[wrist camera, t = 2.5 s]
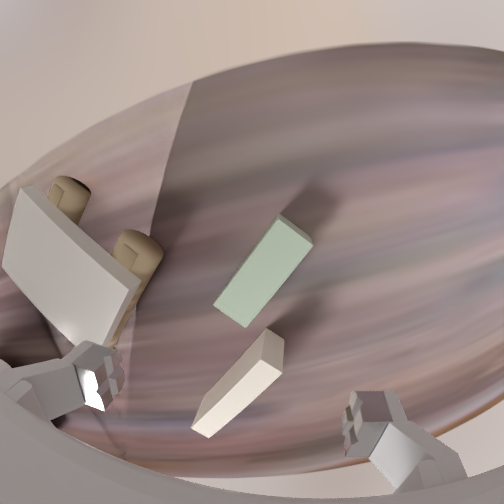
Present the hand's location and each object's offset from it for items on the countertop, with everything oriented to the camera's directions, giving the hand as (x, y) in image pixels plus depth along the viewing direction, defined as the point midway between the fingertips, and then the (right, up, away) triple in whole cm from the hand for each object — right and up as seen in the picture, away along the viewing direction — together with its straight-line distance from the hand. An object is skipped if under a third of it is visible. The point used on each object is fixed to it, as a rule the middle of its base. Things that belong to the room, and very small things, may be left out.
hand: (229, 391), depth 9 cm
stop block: (0, -7, +18) cm, 19 cm away
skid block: (+2, +4, +15) cm, 16 cm away
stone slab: (-16, +3, +13) cm, 21 cm away
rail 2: (-11, +1, +17) cm, 21 cm away
